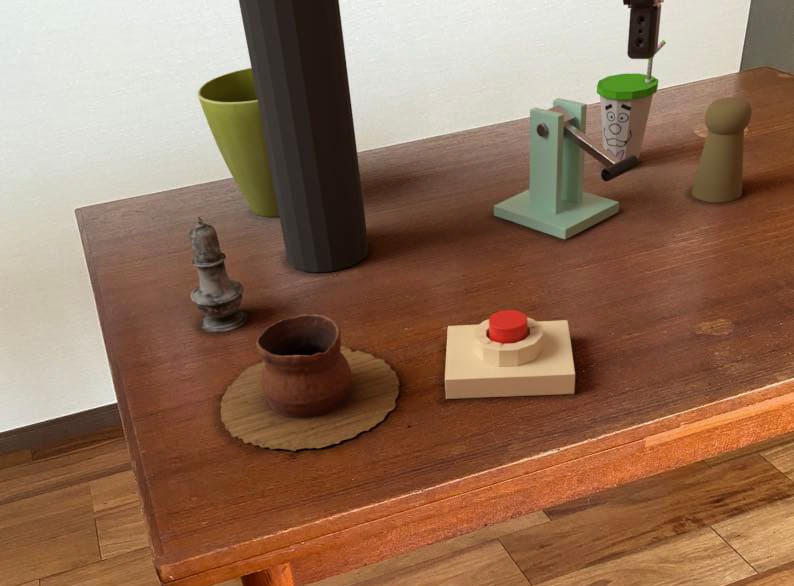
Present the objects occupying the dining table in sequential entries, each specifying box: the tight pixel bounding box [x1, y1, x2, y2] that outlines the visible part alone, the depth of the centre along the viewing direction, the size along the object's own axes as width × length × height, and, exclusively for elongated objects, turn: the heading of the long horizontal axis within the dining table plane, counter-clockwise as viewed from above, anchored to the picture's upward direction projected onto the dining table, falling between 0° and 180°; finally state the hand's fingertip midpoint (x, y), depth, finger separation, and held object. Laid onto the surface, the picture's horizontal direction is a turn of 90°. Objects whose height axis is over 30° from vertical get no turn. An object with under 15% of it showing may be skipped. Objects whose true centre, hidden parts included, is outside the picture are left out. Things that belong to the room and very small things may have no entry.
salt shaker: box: [188, 216, 248, 334], centre depth 96 cm, size 6×6×12 cm
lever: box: [547, 105, 639, 182], centre depth 103 cm, size 12×5×2 cm, turn 41°
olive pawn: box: [691, 96, 753, 203], centre depth 108 cm, size 6×6×11 cm
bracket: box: [493, 97, 620, 241], centre depth 108 cm, size 12×10×13 cm
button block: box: [444, 317, 576, 400], centre depth 86 cm, size 12×10×4 cm
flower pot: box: [197, 67, 279, 218], centre depth 118 cm, size 15×15×16 cm
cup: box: [596, 39, 667, 161], centre depth 117 cm, size 8×8×15 cm
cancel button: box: [488, 309, 528, 344], centre depth 84 cm, size 4×4×2 cm
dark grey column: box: [238, 0, 370, 274], centre depth 100 cm, size 10×10×30 cm
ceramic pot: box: [219, 313, 401, 452], centre depth 84 cm, size 18×18×7 cm
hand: (642, 56), depth 75 cm, fingers closed
